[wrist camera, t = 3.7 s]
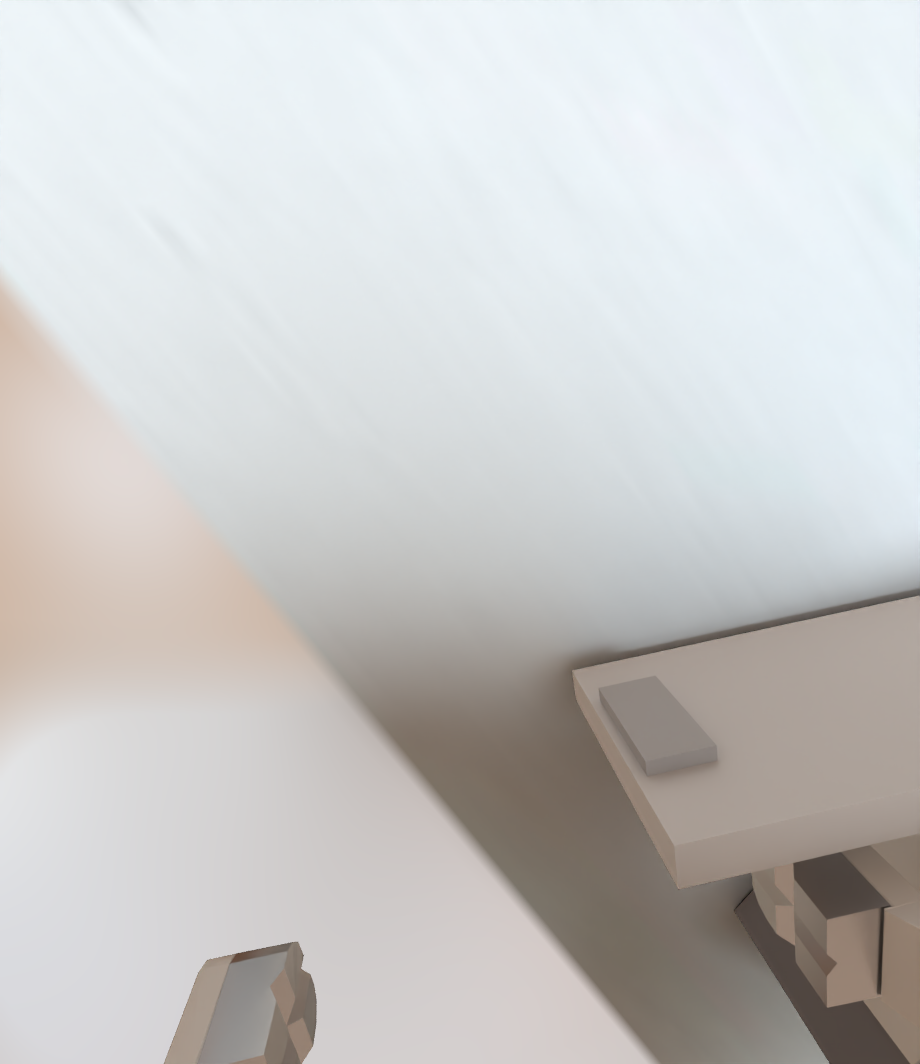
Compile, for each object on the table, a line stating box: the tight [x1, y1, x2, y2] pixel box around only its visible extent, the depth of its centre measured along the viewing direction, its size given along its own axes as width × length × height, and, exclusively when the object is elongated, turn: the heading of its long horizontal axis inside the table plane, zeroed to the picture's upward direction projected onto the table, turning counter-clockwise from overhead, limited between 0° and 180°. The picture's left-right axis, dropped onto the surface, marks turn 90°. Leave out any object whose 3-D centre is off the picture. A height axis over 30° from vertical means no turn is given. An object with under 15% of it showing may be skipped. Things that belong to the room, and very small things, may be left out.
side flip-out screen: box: [572, 595, 920, 890], centre depth 10 cm, size 1×12×5 cm, turn 101°
